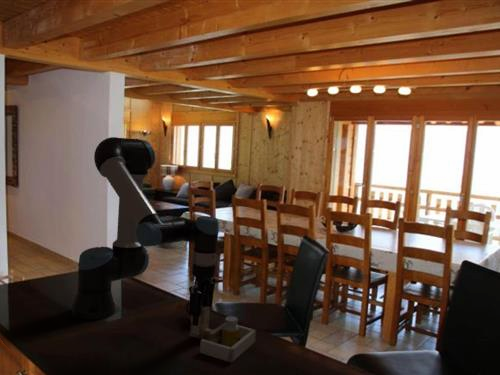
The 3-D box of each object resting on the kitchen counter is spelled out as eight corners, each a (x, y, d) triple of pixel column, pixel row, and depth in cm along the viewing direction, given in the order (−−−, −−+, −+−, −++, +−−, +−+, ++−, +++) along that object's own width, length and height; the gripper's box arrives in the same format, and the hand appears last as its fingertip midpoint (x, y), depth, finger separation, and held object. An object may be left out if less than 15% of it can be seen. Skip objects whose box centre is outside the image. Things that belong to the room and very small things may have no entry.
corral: (199, 352, 136) (200, 340, 135) (226, 333, 151) (227, 322, 151) (231, 362, 131) (232, 350, 131) (255, 341, 147) (256, 330, 146)
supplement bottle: (218, 344, 142) (220, 316, 142) (234, 342, 144) (236, 314, 144) (224, 351, 137) (226, 322, 137) (239, 350, 140) (242, 321, 139)
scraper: (182, 340, 141) (184, 310, 141) (201, 328, 152) (203, 300, 151) (212, 349, 137) (214, 318, 136) (230, 335, 148) (232, 307, 147)
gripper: (200, 271, 134) (195, 343, 137) (226, 260, 149) (221, 326, 152) (180, 266, 138) (175, 337, 140) (207, 256, 153) (202, 321, 155)
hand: (199, 331), depth 146 cm, fingers closed on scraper, 3 cm apart
